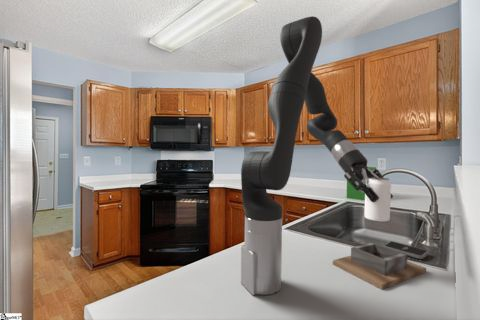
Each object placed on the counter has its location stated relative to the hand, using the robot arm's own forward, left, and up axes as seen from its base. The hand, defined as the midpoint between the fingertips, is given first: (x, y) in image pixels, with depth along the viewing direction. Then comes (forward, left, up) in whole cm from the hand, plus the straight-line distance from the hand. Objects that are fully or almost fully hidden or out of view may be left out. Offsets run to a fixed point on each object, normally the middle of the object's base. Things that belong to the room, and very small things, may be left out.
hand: (383, 199), depth 69 cm
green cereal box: (+95, +77, -20) cm, 124 cm away
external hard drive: (+19, +4, -21) cm, 28 cm away
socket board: (0, +1, -20) cm, 20 cm away
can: (0, +2, -6) cm, 7 cm away
